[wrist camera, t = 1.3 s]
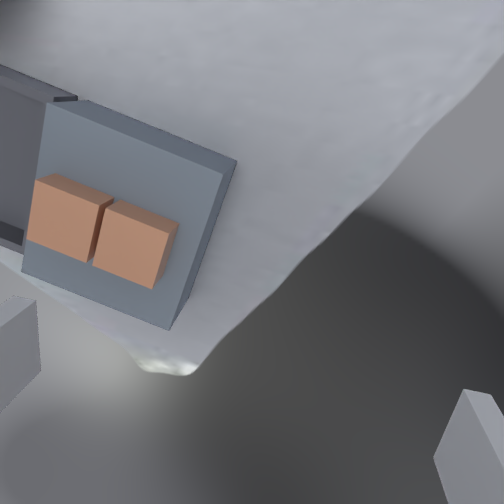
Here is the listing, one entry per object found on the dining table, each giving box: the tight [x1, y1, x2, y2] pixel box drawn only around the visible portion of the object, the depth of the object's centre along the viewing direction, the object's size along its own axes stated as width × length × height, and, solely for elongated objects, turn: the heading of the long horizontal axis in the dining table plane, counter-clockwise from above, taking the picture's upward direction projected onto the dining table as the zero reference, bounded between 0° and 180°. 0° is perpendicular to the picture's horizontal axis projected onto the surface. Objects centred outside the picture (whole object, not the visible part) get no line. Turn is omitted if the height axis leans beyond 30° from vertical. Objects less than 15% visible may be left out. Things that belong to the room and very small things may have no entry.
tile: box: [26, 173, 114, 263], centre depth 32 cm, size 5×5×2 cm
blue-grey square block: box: [21, 100, 237, 331], centre depth 36 cm, size 14×15×6 cm
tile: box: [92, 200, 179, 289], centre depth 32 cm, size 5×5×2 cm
